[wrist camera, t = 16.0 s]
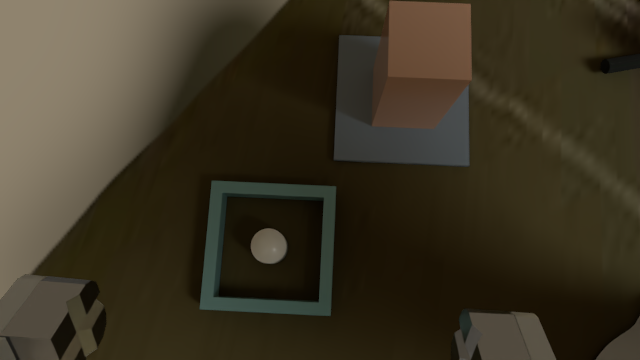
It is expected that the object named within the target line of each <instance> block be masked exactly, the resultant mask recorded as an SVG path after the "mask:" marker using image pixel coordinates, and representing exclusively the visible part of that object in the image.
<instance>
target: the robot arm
mask: <svg viewBox="0 0 640 360" xmlns="http://www.w3.org/2000/svg"><path fill="white" fill-rule="evenodd" d="M99 293H100V291H99V288H98V285H97V283H96V282H95V281H90V280H80V279H70V278H60V277H51V276H38V275H27V274H25V275H24V276H22V277H20V278H18V279H17V280H16V281H15V283H14V284H13V285H12V286H11V288H10V289H9V290H8V291H7V293H6V294H5V295H4V296H3V297H2V299H1V300H0V360H86V356H87V355H88V354H90V353H91V352H93V351H94V350H95V349H97V348H98V346H99V344H100V342H101V340H102V338H103V335H104V331H105V327H106V311H105V308H104V306H103V305H102V304H101V303H100V302H99V301H98V300H96V298H97V297H98V295H99ZM459 323H460V327H461V329H459V330H458V331H456V332H455V333H454V336H453V339H452V343H451V360H556V358H555V355H554V353H553V351H552V348H551V346H550V344H549V342H548V339H547V337H546V335H545V332H544V330H543V328H542V325H541V323H540V321H539V318H538V317H537V316H536V315H535V314H534V313H522V312H508V311H497V310H481V309H466V308H465V309H464V310H463V311H462V312H461V315H460V317H459ZM596 360H640V316H639V318H638V320H637V322H636V323H635V325H633V326H632V327H631V328H630V329H629V330H628V331H626V332H625V333H623V334H622V335H620V336H619V337H617V338H616V339H614V340H613V341H612V342H610V343H609V344H608V345H607V346H606V347H605V348H604V349H603V350H602V352H601V353H600V354H599V355H598V357H597V358H596Z"/></svg>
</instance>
